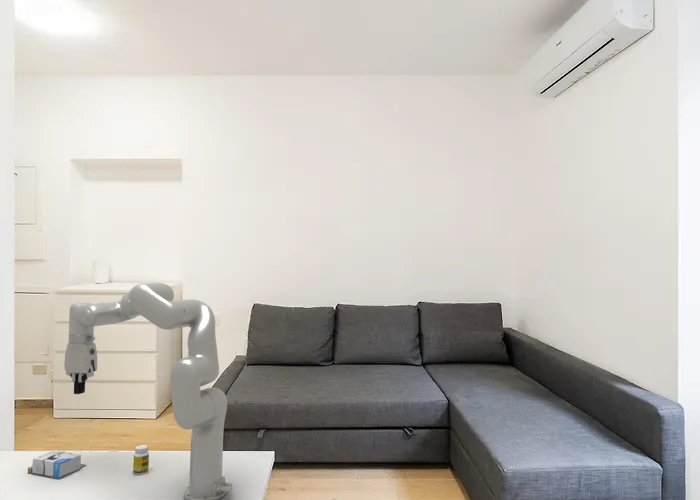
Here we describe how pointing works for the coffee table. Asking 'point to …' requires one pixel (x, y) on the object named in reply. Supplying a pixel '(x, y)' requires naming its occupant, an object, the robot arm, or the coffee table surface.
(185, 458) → the coffee table surface
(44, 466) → the ink box
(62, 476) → the mat
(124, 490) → the coffee table surface
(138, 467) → the supplement bottle
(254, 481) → the coffee table surface
